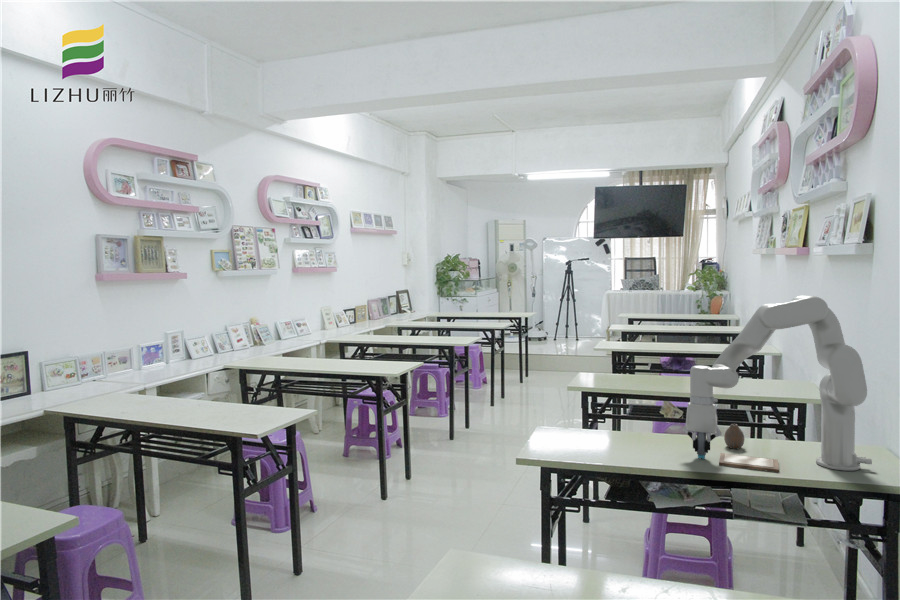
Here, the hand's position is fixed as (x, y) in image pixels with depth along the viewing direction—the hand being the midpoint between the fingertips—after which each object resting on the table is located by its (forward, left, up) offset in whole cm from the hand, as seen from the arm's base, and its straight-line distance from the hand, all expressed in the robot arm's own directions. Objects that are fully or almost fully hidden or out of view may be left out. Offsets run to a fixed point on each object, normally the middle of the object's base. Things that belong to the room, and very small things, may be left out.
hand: (701, 450), depth 208 cm
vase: (-10, -20, -3) cm, 23 cm away
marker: (0, 0, -3) cm, 3 cm away
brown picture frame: (-15, 0, -3) cm, 15 cm away
